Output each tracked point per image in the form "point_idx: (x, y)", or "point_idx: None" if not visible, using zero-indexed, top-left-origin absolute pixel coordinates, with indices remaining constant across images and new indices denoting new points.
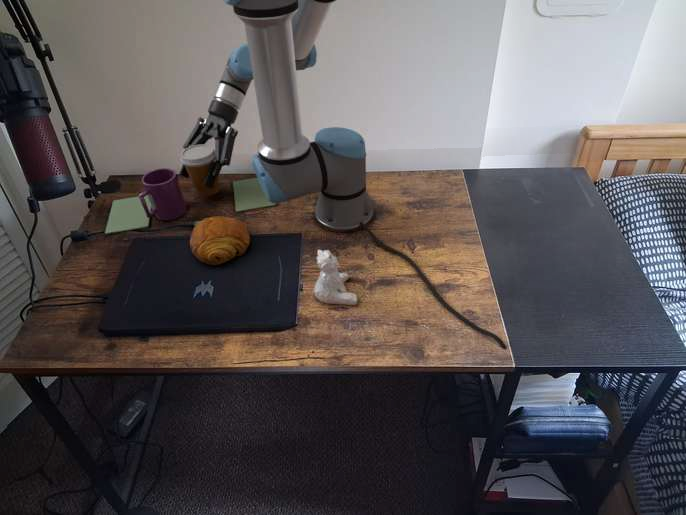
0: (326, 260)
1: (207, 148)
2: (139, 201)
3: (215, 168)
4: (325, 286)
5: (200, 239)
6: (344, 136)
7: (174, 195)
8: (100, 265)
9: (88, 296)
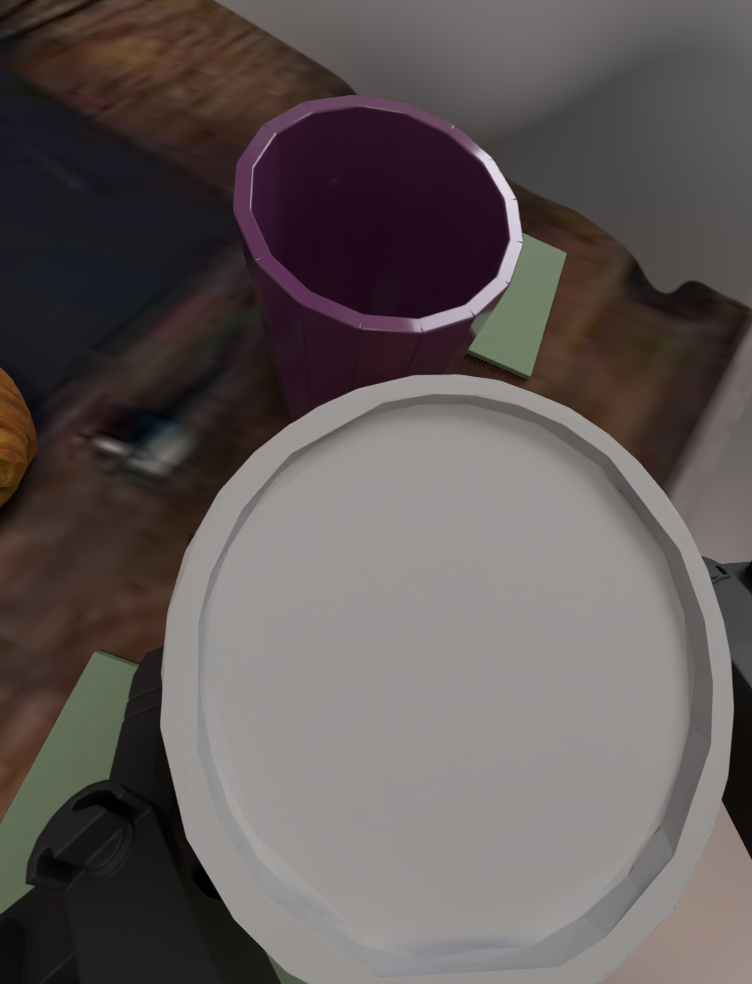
0: None
1: (534, 873)
2: (504, 316)
3: (149, 728)
4: None
5: None
6: None
7: (268, 336)
8: (187, 97)
9: (46, 22)
